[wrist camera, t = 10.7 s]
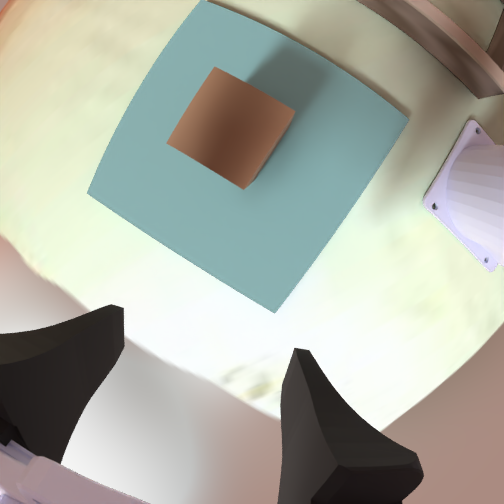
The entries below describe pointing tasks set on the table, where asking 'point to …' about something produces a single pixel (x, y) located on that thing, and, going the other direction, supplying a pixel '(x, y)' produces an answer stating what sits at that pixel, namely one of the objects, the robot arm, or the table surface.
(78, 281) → the table surface
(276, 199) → the mat
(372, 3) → the frame
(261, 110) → the walnut block
